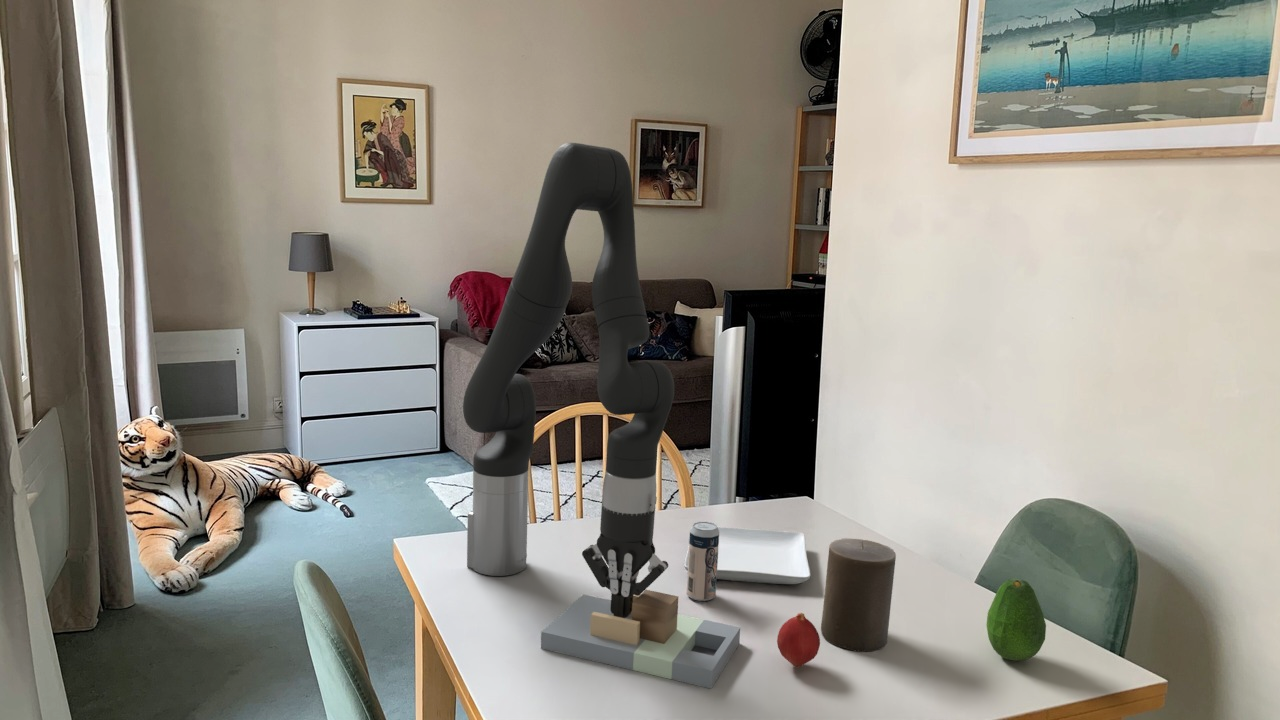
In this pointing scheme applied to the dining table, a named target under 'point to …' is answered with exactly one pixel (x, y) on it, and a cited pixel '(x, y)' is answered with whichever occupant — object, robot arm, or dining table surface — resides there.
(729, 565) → the salad plate
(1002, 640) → the avocado
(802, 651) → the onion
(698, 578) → the beer can
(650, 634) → the block
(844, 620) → the pillar candle
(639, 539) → the robot arm
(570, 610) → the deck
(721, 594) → the dining table surface
